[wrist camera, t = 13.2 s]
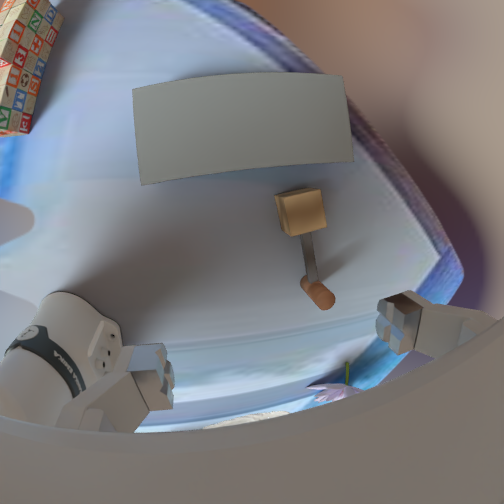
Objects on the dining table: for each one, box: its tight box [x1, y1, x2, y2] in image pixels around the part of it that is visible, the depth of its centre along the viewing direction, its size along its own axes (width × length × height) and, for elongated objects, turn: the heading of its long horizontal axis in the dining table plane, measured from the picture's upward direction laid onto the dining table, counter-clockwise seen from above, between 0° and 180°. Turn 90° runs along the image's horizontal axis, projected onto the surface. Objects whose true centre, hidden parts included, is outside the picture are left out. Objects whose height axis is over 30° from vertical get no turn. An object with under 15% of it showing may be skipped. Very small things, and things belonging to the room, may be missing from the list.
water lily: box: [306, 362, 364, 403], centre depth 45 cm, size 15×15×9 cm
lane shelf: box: [132, 72, 354, 186], centre depth 31 cm, size 11×25×7 cm, turn 97°
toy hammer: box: [274, 188, 335, 310], centre depth 37 cm, size 15×5×7 cm, turn 13°
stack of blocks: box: [0, 0, 64, 137], centre depth 19 cm, size 21×6×12 cm, turn 172°
